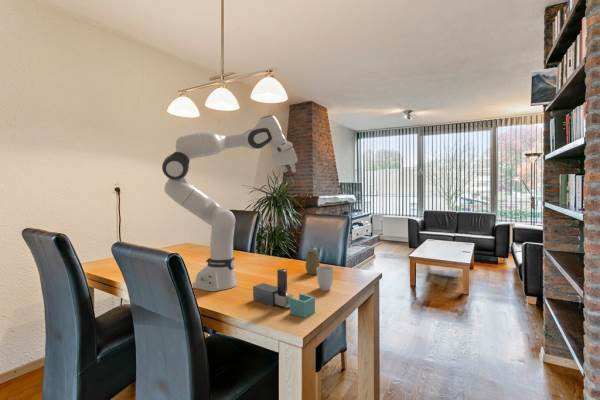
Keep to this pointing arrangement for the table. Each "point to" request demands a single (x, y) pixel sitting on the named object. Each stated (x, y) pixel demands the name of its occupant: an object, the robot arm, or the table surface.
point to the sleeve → (264, 293)
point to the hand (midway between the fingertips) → (290, 172)
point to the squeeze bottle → (312, 260)
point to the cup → (325, 277)
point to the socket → (302, 305)
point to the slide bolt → (282, 290)
